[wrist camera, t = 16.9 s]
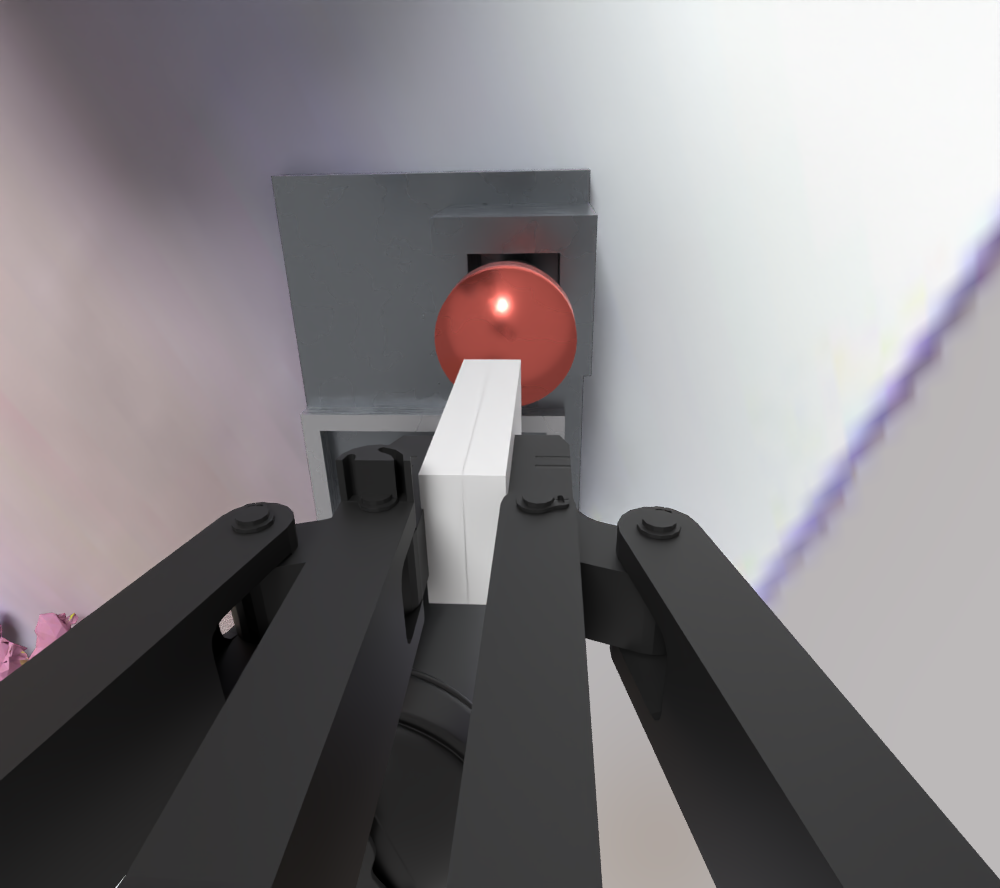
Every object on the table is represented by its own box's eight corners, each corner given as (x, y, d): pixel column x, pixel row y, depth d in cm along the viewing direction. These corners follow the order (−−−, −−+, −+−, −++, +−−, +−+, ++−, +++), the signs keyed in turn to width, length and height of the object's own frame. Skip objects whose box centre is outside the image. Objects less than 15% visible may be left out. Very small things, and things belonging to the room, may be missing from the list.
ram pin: (464, 345, 31) (438, 407, 24) (459, 237, 29) (429, 269, 22) (568, 345, 31) (575, 408, 24) (571, 235, 29) (578, 267, 22)
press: (346, 603, 46) (311, 683, 39) (282, 174, 34) (216, 183, 28) (573, 609, 45) (578, 692, 38) (588, 168, 33) (599, 176, 26)
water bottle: (493, 424, 38) (425, 769, 17) (543, 564, 42) (538, 985, 21) (335, 467, 40) (102, 825, 19) (398, 598, 44) (260, 1014, 23)
